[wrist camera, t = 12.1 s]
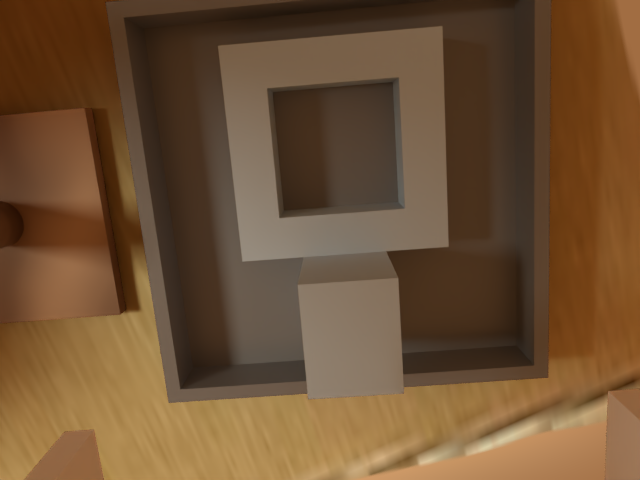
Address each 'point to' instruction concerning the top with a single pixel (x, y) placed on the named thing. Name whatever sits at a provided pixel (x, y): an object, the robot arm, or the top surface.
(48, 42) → the top surface
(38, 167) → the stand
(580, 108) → the top surface
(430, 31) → the ring
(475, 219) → the tray
